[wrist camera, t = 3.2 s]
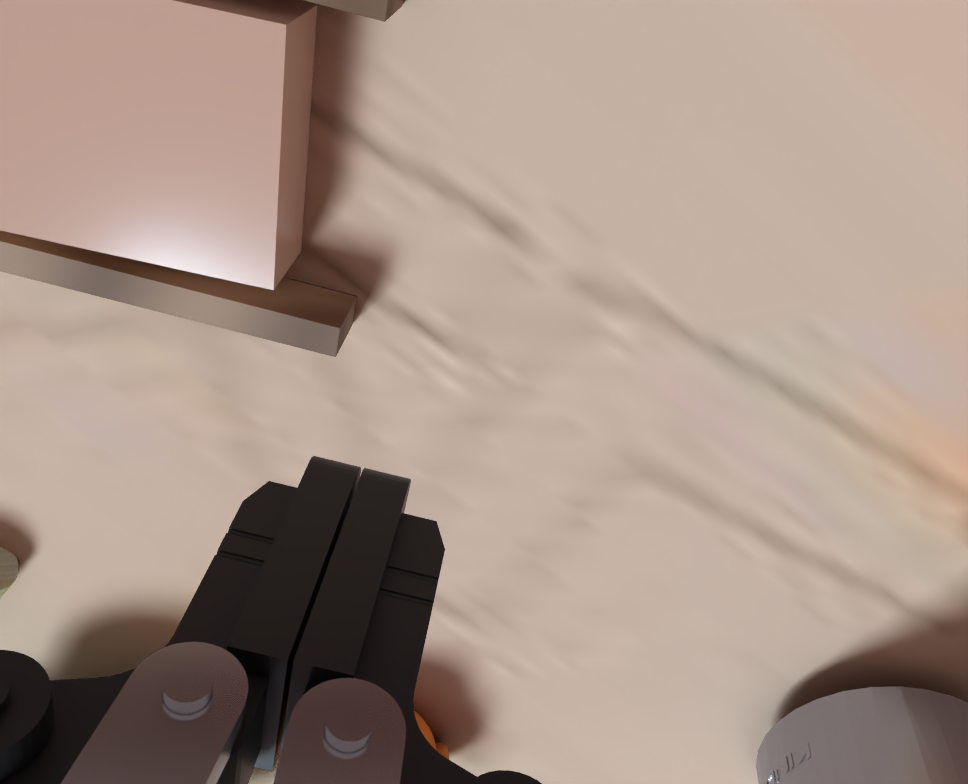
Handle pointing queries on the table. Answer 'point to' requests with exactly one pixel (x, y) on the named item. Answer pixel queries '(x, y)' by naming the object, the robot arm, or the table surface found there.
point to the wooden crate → (200, 275)
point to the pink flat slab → (159, 130)
